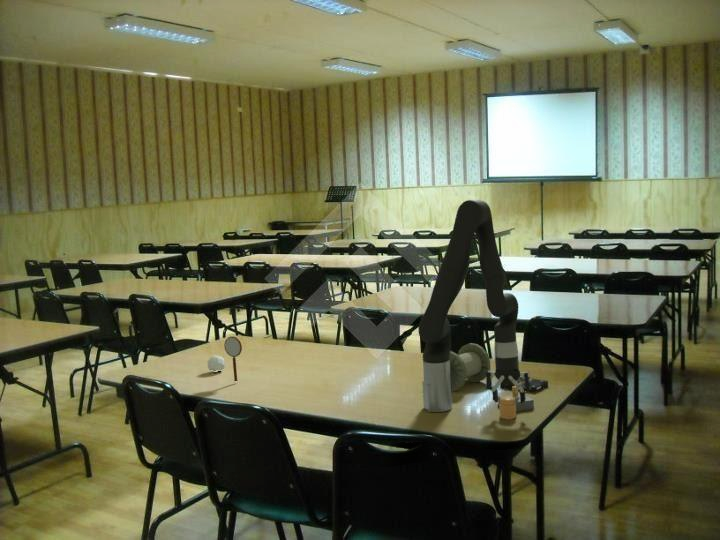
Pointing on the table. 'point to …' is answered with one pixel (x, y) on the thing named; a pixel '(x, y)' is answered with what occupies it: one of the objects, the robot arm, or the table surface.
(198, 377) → the table surface
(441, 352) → the robot arm
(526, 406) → the grey piece
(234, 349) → the magnifying glass
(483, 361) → the spool
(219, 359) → the ball
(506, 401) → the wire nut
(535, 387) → the disk drive
